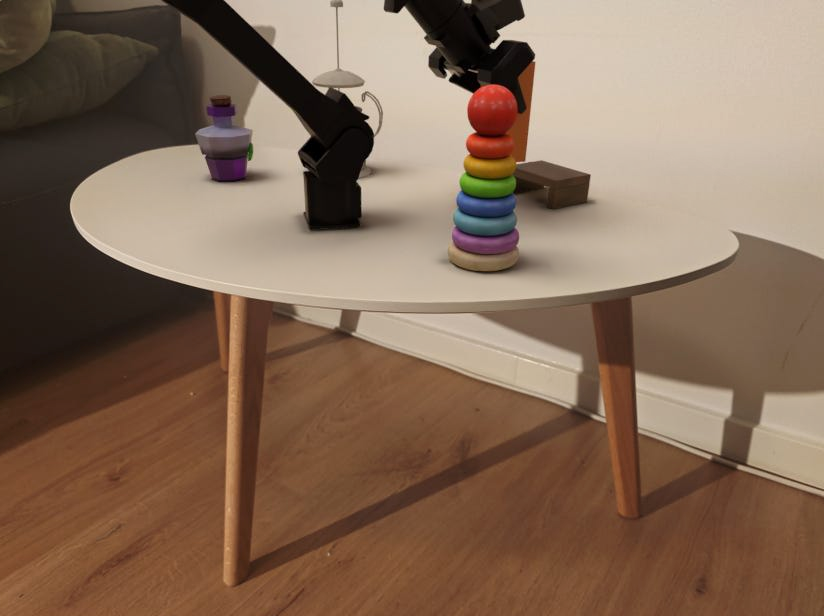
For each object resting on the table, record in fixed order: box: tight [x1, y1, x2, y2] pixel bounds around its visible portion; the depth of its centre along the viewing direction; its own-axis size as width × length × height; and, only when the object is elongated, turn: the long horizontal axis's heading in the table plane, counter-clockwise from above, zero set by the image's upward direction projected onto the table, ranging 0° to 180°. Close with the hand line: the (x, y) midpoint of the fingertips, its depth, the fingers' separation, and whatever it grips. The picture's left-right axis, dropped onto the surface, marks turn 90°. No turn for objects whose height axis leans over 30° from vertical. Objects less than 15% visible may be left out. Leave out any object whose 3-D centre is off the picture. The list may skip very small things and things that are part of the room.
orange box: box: [480, 60, 536, 163], centre depth 93 cm, size 5×5×12 cm
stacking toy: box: [447, 85, 520, 272], centre depth 74 cm, size 8×8×19 cm
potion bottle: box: [194, 94, 254, 183], centre depth 105 cm, size 9×9×12 cm
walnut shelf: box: [512, 160, 592, 210], centre depth 102 cm, size 7×10×4 cm
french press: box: [311, 0, 384, 179], centre depth 107 cm, size 10×12×25 cm
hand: (513, 108), depth 93 cm, fingers closed on orange box, 5 cm apart
